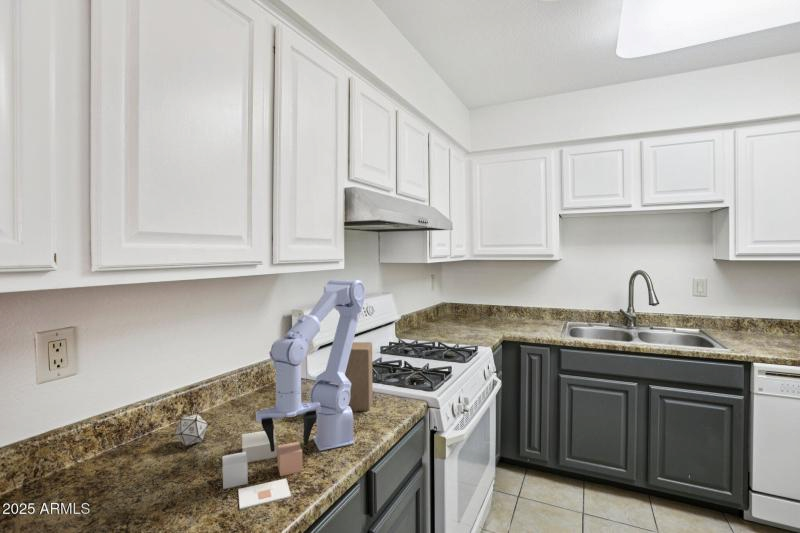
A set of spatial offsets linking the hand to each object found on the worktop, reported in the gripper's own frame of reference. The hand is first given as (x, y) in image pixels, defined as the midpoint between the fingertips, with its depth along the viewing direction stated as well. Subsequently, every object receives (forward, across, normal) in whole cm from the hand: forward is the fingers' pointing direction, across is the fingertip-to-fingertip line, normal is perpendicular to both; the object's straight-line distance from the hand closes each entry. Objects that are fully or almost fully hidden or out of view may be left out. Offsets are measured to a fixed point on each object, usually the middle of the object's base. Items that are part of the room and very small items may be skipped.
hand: (289, 446), depth 96 cm
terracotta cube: (+6, 0, 0) cm, 6 cm away
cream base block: (+6, -6, +11) cm, 14 cm away
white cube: (+6, -12, 0) cm, 13 cm away
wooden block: (+5, +26, +31) cm, 41 cm away
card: (+5, -6, -8) cm, 12 cm away
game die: (+6, -22, +23) cm, 32 cm away
